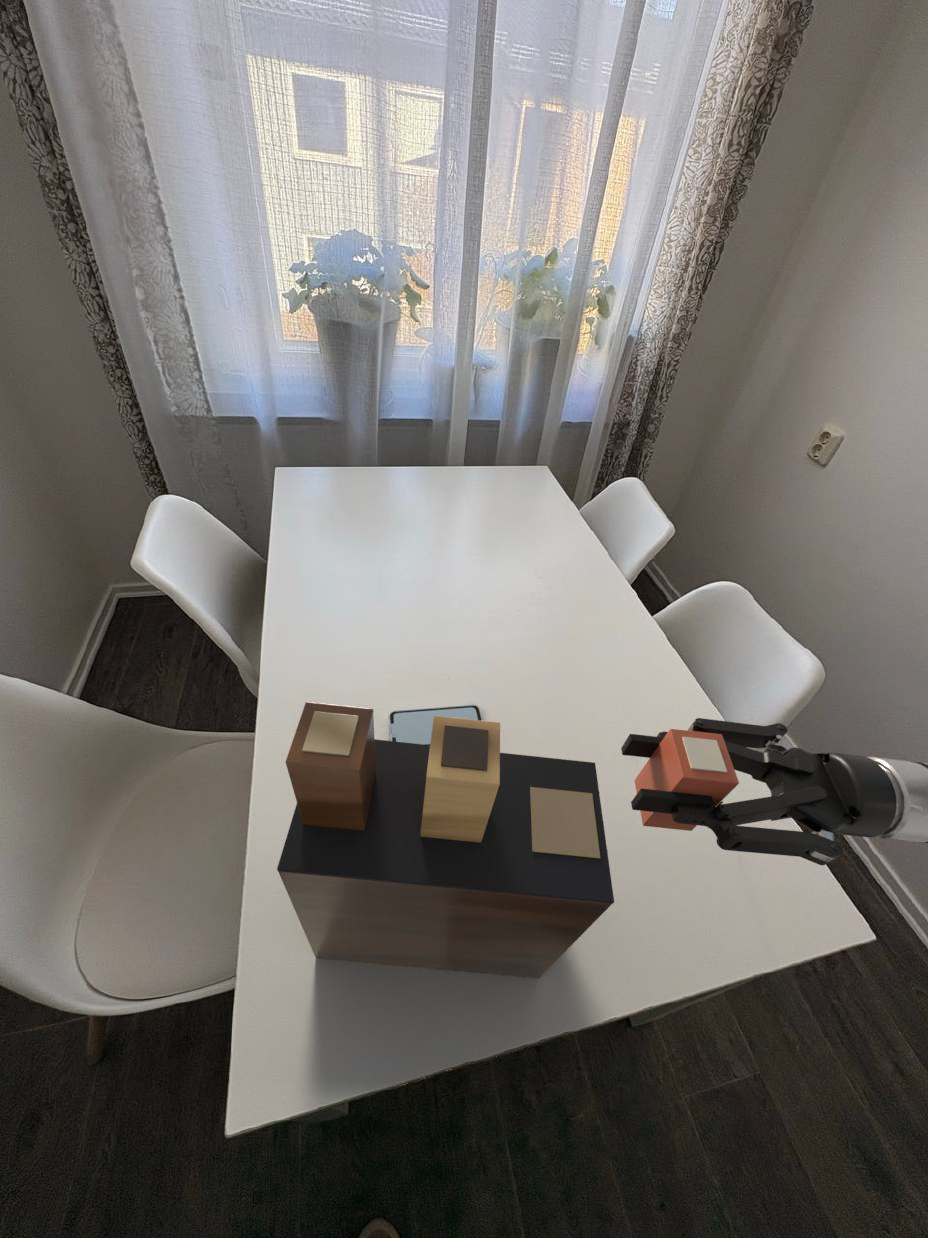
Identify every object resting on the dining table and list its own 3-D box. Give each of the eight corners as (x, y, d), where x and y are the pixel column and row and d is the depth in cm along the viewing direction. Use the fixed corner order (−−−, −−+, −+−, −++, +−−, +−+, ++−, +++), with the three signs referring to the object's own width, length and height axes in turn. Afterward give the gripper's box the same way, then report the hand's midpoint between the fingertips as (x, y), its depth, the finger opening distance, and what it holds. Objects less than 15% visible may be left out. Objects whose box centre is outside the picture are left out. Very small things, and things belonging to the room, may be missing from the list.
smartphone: (488, 742, 80) (391, 751, 77) (487, 745, 81) (391, 754, 78) (478, 703, 85) (388, 710, 82) (478, 707, 86) (388, 714, 83)
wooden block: (364, 831, 41) (359, 768, 34) (302, 825, 41) (284, 760, 34) (376, 774, 45) (373, 707, 38) (319, 768, 45) (305, 699, 38)
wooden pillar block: (481, 843, 42) (500, 783, 34) (420, 836, 42) (426, 775, 34) (483, 785, 45) (500, 720, 38) (426, 779, 45) (433, 713, 38)
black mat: (612, 904, 40) (615, 902, 39) (277, 871, 39) (276, 868, 39) (594, 764, 48) (595, 761, 48) (318, 735, 48) (317, 732, 47)
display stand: (539, 979, 59) (612, 904, 40) (315, 958, 59) (277, 871, 39) (535, 870, 68) (594, 764, 48) (339, 851, 67) (318, 735, 48)
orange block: (691, 831, 51) (740, 782, 44) (642, 826, 51) (684, 776, 44) (679, 785, 55) (723, 732, 48) (633, 780, 55) (670, 727, 48)
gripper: (890, 911, 46) (634, 885, 45) (806, 736, 58) (606, 714, 58) (956, 882, 40) (667, 852, 40) (847, 697, 53) (627, 672, 52)
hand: (631, 770), depth 49 cm, fingers closed on orange block, 5 cm apart
